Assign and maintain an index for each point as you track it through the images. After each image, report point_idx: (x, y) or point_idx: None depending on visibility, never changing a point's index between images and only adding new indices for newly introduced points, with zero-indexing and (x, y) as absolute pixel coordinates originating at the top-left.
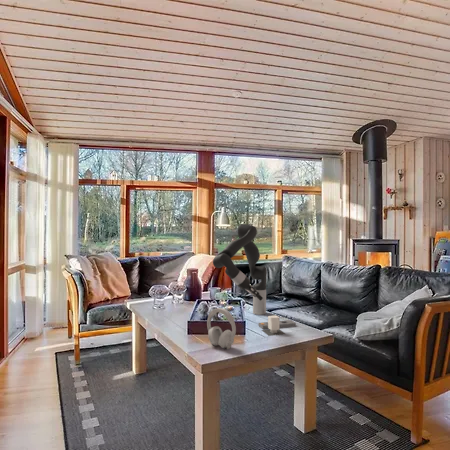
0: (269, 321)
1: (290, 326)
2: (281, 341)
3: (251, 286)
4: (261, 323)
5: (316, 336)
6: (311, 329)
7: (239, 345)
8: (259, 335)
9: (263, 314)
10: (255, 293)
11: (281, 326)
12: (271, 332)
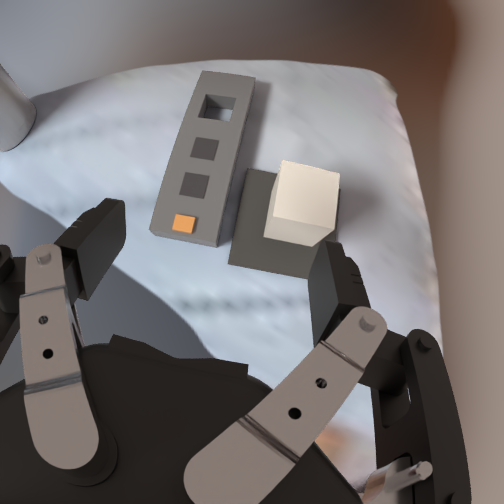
0: (292, 230)
1: (249, 106)
2: (400, 266)
3: (263, 495)
4: (180, 228)
5: (386, 110)
6: (306, 67)
7: (359, 455)
8: (287, 314)
9: (34, 119)
10: (105, 223)
11: (239, 142)
12: None
